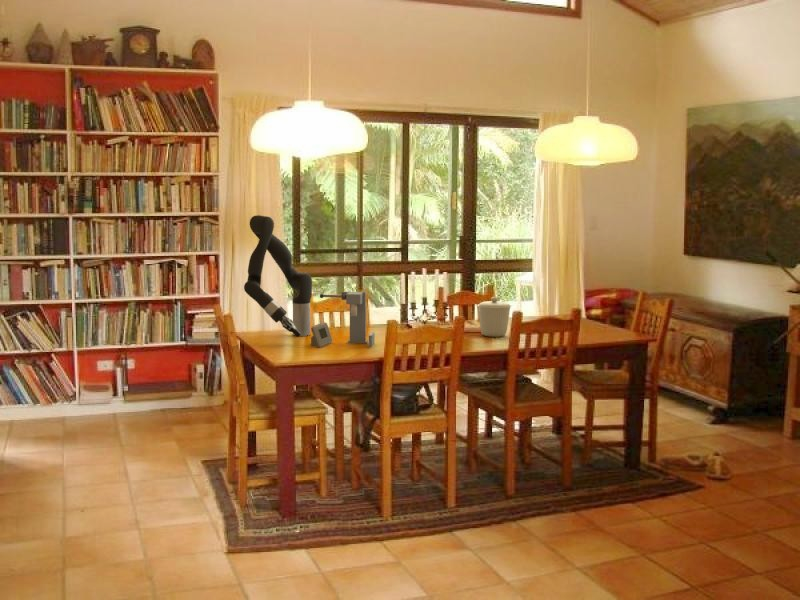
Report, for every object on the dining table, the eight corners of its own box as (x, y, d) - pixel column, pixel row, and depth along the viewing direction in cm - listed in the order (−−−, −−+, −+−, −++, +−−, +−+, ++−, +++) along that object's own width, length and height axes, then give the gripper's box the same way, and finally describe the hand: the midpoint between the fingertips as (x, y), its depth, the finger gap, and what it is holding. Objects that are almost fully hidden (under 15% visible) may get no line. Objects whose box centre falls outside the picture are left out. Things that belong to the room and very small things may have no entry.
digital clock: (319, 348, 422) (319, 327, 421) (304, 346, 427) (304, 325, 425) (338, 343, 436) (338, 322, 435) (323, 342, 441) (323, 321, 439)
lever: (320, 297, 436) (320, 293, 436) (347, 298, 435) (347, 293, 434) (319, 298, 433) (319, 293, 433) (346, 298, 432) (346, 294, 432)
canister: (499, 339, 452) (500, 299, 449) (470, 335, 462) (470, 296, 460) (516, 335, 466) (517, 296, 463) (488, 331, 477) (488, 293, 474)
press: (342, 342, 440) (342, 291, 436) (375, 343, 438) (375, 292, 435) (337, 347, 426) (337, 294, 423) (371, 347, 425) (372, 295, 422)
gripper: (277, 307, 424) (302, 332, 425) (283, 304, 437) (307, 328, 438) (266, 318, 425) (291, 343, 426) (273, 314, 438) (297, 338, 439)
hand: (299, 335), depth 432 cm, fingers closed
